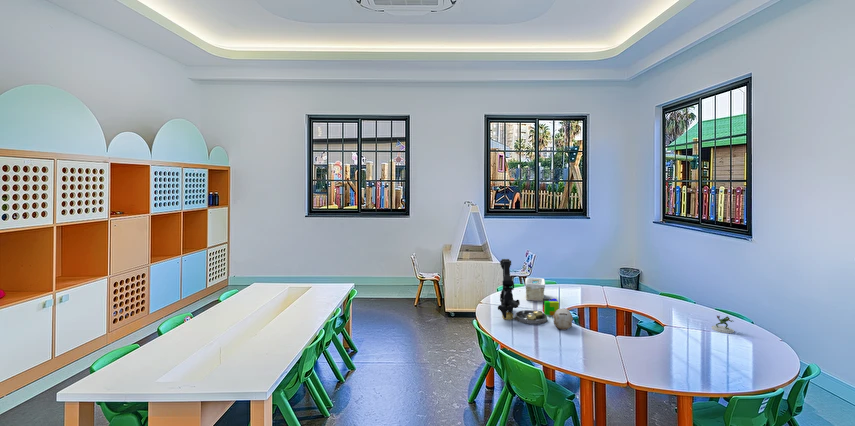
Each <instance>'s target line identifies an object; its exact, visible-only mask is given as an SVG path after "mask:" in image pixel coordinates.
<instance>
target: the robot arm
mask: <svg viewBox="0 0 855 426" xmlns="http://www.w3.org/2000/svg"><path fill="white" fill-rule="evenodd" d="M499 265H500V268H501V269H502V281H501V283H502V284H501V285H502V289H501V291H500V295H499V300H500V304H499V305H498V306H497V310H498V311H500V313H501V315H502V314H503V316H504V318H506V313H507V312H510V313H512V314H513V310H514V309H517V308H518V307H519V306H520V299H515V300H514V295H513V292H512V291H514V289H515V282H514V280H513V277H512V276H511V272H510V271H511V270H510V268H511V266H512V260H510V258H501V260H499Z"/></svg>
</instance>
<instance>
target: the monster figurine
mask: <svg viewBox="0 0 855 426" xmlns="http://www.w3.org/2000/svg"><path fill="white" fill-rule="evenodd" d="M716 318H717V320H718V321H719V322H718V323H716V324H715V325H712V326H711V329H712V330H713V331H715V332H717V333H723V334H734V333H735V330H734V329H733V328H731V327H728V326H729V324H728V323H727V322H730V323H733V322H735V320H730V318H731V317H729V316H725V317H723V318H721V315H720V314H719V315H716ZM723 324H724V325H723Z"/></svg>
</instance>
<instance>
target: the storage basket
mask: <svg viewBox="0 0 855 426" xmlns="http://www.w3.org/2000/svg"><path fill="white" fill-rule="evenodd" d="M524 282H525V283H524V285H525V299H526V300H527V301H535V302H537V301H538V302H543V298H545V287H546V280H545V278H544V277H526V278H525V281H524Z"/></svg>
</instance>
